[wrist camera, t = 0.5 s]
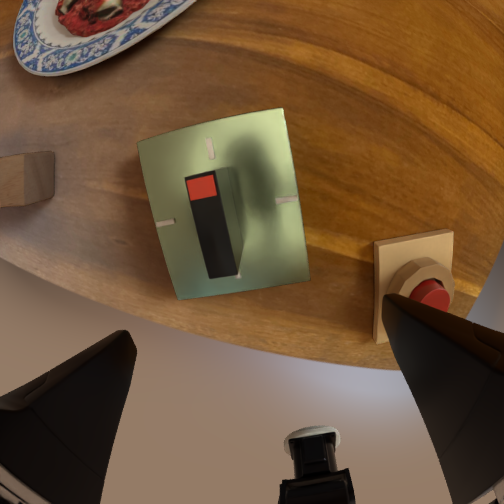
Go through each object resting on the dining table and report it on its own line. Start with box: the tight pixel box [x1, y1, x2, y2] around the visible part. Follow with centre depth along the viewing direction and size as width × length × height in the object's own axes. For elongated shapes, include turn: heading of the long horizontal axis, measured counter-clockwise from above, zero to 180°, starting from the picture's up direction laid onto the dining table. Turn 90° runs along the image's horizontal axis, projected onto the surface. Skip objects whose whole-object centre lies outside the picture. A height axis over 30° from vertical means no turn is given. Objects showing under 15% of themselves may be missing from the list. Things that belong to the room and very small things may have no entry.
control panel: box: [137, 107, 311, 300], centre depth 19 cm, size 12×10×3 cm
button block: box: [373, 229, 455, 344], centre depth 21 cm, size 10×8×3 cm
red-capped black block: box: [184, 167, 243, 279], centre depth 16 cm, size 6×2×5 cm, turn 11°
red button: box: [409, 280, 450, 312], centre depth 19 cm, size 4×4×2 cm
